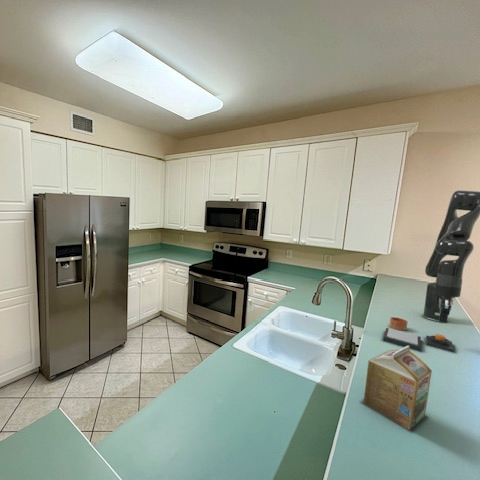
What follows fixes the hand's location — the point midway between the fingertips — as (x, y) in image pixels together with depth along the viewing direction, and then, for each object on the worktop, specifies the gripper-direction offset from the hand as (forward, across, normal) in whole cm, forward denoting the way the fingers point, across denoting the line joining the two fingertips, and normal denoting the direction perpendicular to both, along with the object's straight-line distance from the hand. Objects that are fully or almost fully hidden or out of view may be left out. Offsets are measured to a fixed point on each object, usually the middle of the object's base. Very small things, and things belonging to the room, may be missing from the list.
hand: (442, 321), depth 112 cm
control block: (+11, 0, 0) cm, 11 cm away
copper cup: (+11, +9, +14) cm, 20 cm away
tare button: (+8, 0, 0) cm, 8 cm away
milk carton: (+11, -68, +12) cm, 70 cm away
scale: (+11, -8, +12) cm, 18 cm away
